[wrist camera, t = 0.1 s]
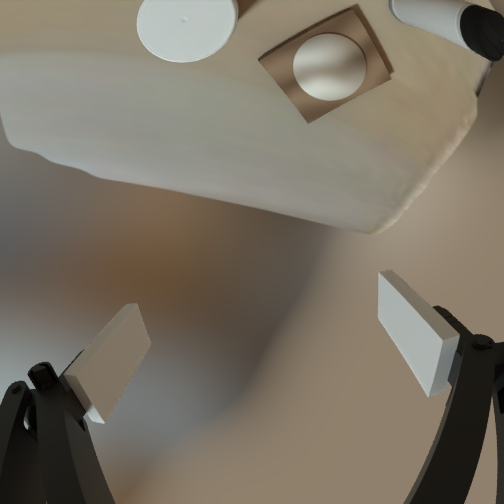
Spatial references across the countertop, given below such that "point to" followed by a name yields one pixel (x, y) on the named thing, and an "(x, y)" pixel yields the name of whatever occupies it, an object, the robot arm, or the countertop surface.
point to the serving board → (326, 65)
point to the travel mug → (456, 23)
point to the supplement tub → (186, 27)
